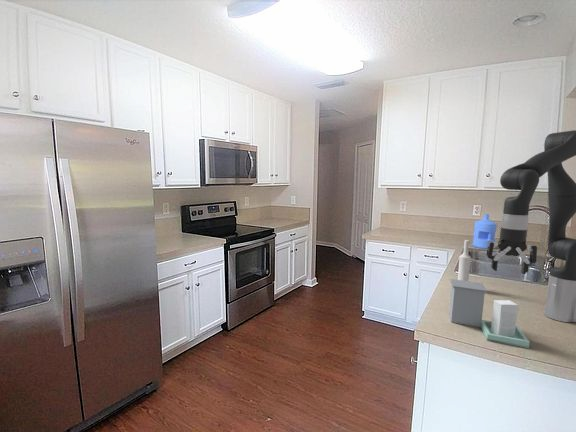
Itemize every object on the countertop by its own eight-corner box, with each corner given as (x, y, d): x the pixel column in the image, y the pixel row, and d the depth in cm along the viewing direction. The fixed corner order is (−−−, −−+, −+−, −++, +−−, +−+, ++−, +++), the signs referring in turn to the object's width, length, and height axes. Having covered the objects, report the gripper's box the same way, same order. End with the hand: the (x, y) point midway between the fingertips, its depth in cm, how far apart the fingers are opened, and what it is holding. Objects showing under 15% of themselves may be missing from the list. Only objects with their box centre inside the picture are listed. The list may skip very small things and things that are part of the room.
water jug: (468, 244, 264) (471, 212, 261) (485, 245, 265) (489, 213, 262) (480, 249, 249) (484, 215, 245) (498, 249, 250) (502, 215, 246)
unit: (478, 318, 123) (482, 283, 121) (483, 328, 114) (487, 290, 112) (447, 312, 127) (450, 278, 125) (449, 322, 118) (453, 286, 117)
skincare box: (506, 331, 111) (509, 299, 110) (514, 337, 107) (519, 304, 106) (489, 330, 111) (493, 299, 110) (498, 337, 107) (501, 304, 106)
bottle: (462, 289, 154) (467, 241, 151) (454, 286, 159) (458, 239, 156) (470, 289, 156) (475, 241, 153) (462, 285, 161) (466, 239, 157)
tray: (517, 331, 113) (518, 326, 112) (528, 348, 101) (529, 342, 101) (479, 325, 117) (480, 319, 117) (486, 340, 106) (487, 334, 106)
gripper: (492, 227, 105) (488, 272, 107) (543, 230, 100) (537, 277, 102) (487, 224, 112) (483, 266, 114) (534, 227, 107) (529, 271, 109)
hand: (508, 271), depth 108 cm, fingers open, 8 cm apart
